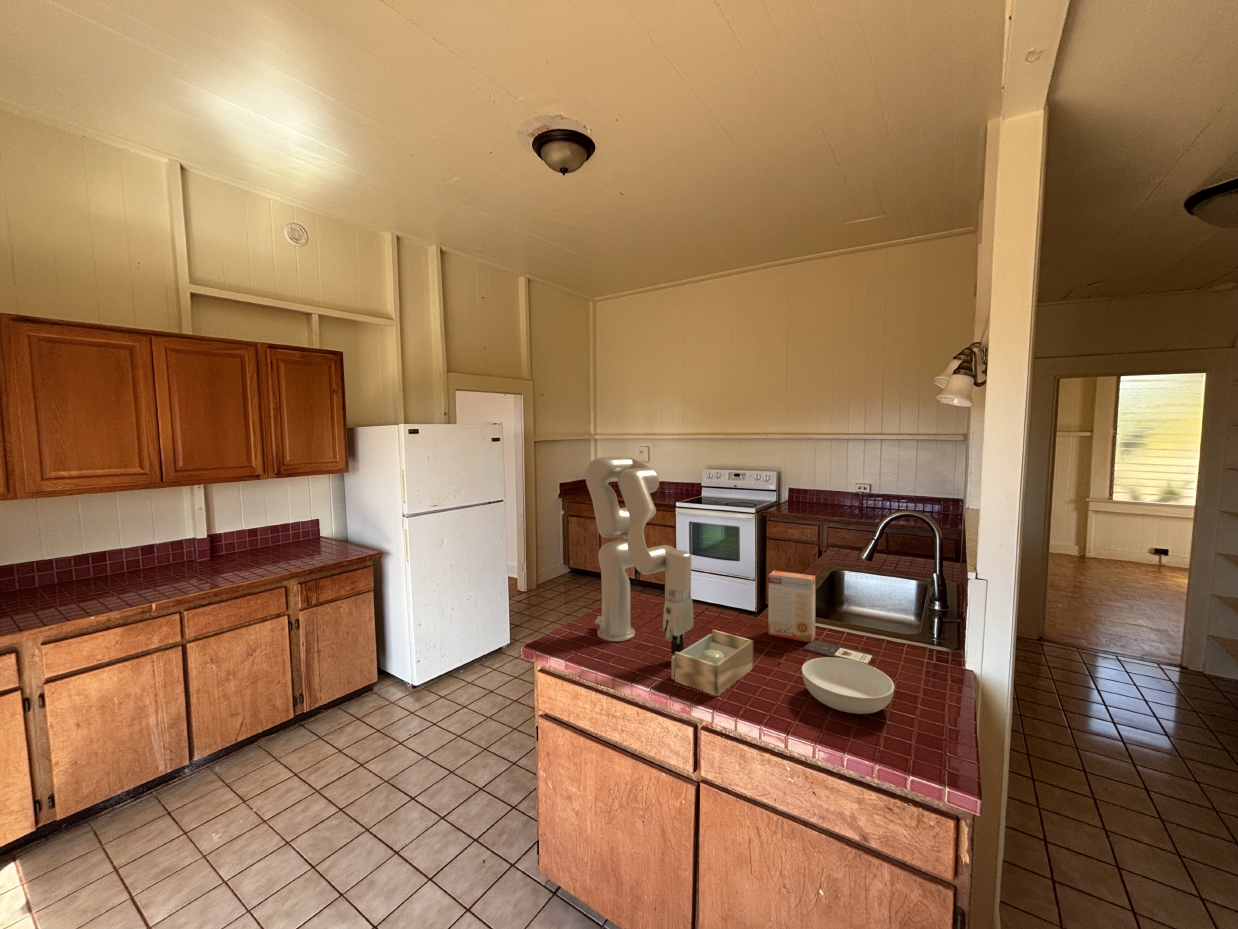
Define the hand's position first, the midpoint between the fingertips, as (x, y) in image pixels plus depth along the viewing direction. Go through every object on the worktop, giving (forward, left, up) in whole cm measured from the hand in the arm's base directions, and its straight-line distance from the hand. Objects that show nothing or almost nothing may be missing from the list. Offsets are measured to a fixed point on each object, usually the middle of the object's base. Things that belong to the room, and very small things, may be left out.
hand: (677, 654), depth 146 cm
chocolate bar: (+35, +36, -3) cm, 50 cm away
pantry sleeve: (+12, 0, -2) cm, 12 cm away
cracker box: (+19, +40, -3) cm, 44 cm away
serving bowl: (+45, +8, -3) cm, 46 cm away
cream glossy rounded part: (+12, 0, -1) cm, 12 cm away
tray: (+12, 0, -2) cm, 12 cm away
